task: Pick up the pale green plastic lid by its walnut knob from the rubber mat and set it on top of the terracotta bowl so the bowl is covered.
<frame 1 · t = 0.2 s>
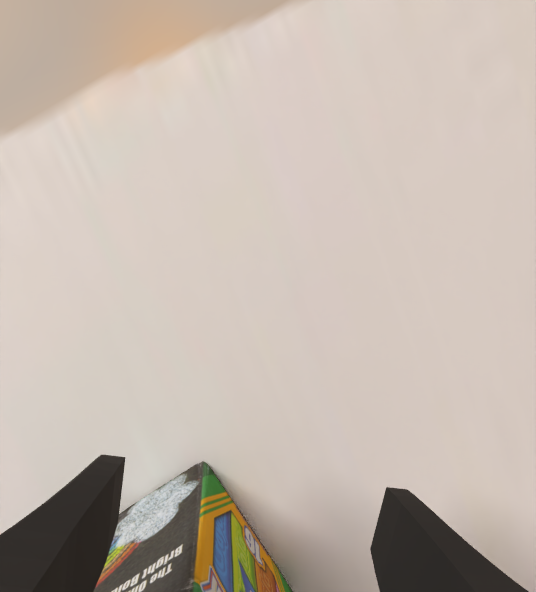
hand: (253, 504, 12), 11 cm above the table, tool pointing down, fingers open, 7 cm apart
chalk box: (179, 570, 23), on the table
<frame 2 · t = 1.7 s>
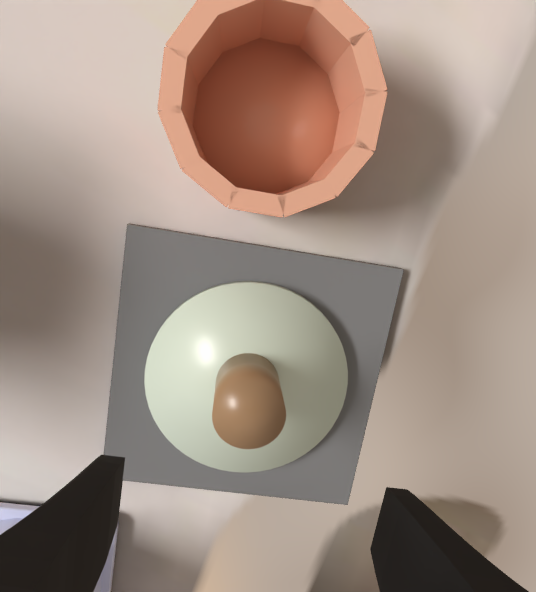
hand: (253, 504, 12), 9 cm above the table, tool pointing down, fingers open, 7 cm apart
bowl: (265, 122, 18), on the table
lid: (247, 377, 20), resting on mat
mat: (247, 373, 21), on the table
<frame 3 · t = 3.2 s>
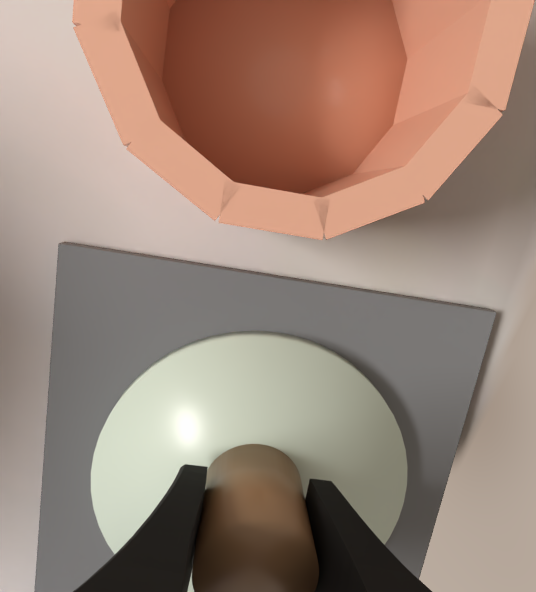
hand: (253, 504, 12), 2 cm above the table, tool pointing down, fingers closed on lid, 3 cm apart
bowl: (282, 77, 11), on the table
lid: (251, 474, 13), resting on mat, touching gripper
mat: (251, 467, 14), on the table
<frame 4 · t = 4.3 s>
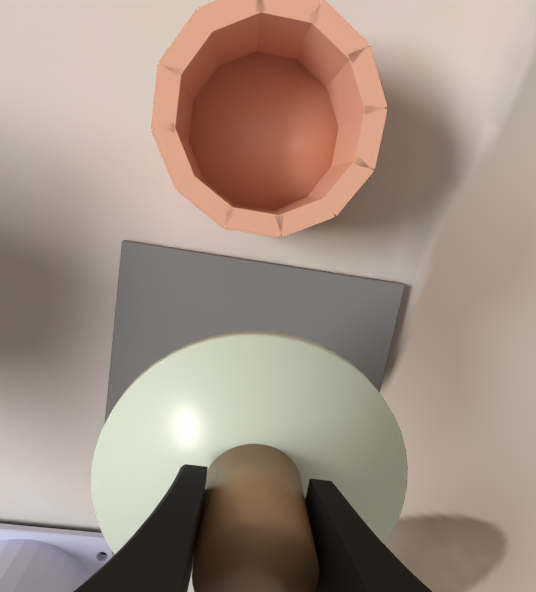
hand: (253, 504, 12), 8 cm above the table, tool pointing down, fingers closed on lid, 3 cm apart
bowl: (263, 136, 18), on the table
lid: (251, 474, 13), point 7 cm above the table, touching gripper
mat: (245, 391, 20), on the table
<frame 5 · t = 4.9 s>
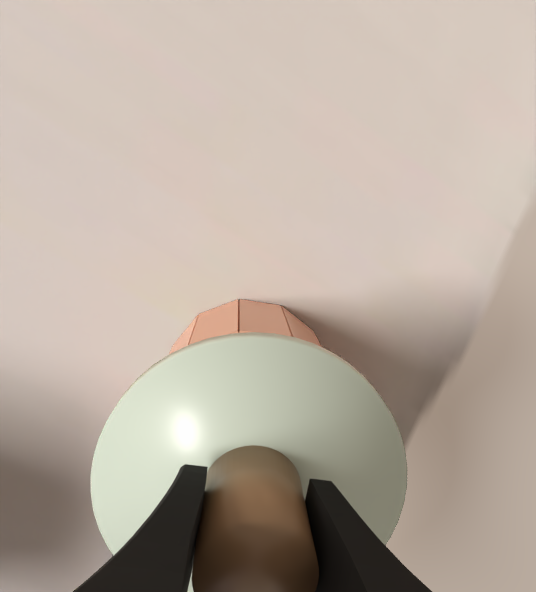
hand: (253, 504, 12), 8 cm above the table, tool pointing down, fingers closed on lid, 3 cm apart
bowl: (247, 376, 20), on the table
lid: (251, 476, 13), point 7 cm above the table, touching gripper
when the fingers open (7 cm above the table, at t = 5.5 s): lid drops 1 cm, resting on bowl.
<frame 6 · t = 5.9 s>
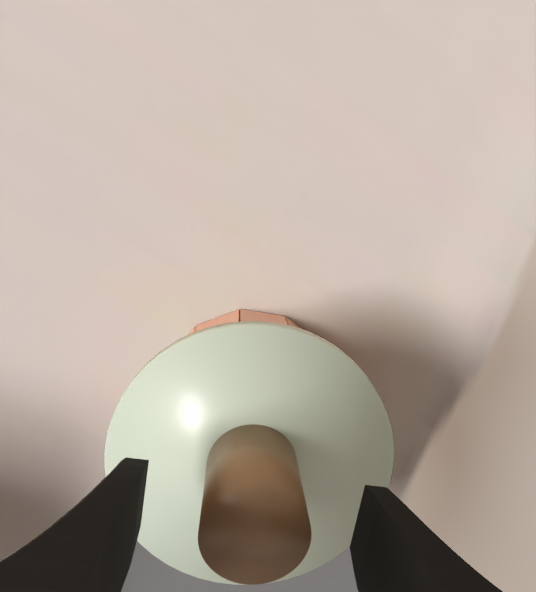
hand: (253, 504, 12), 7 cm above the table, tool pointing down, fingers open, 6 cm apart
bowl: (248, 391, 19), on the table, touching lid
lid: (251, 454, 15), point 4 cm above the table, touching bowl
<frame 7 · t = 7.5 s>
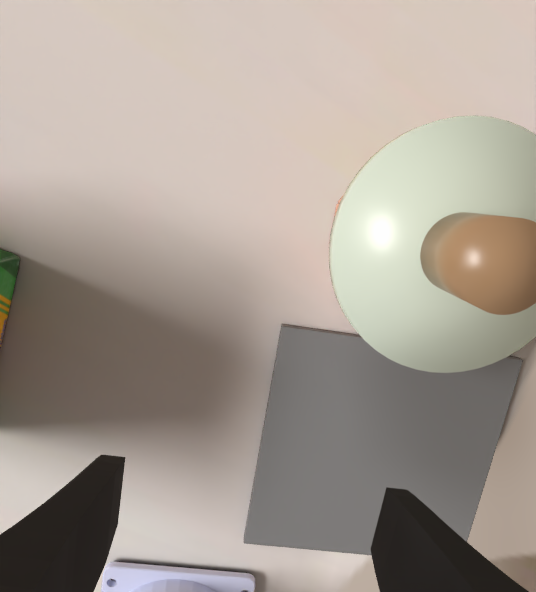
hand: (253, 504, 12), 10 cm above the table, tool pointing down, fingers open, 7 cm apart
lid: (451, 250, 16), point 4 cm above the table, touching bowl
mat: (376, 450, 23), on the table
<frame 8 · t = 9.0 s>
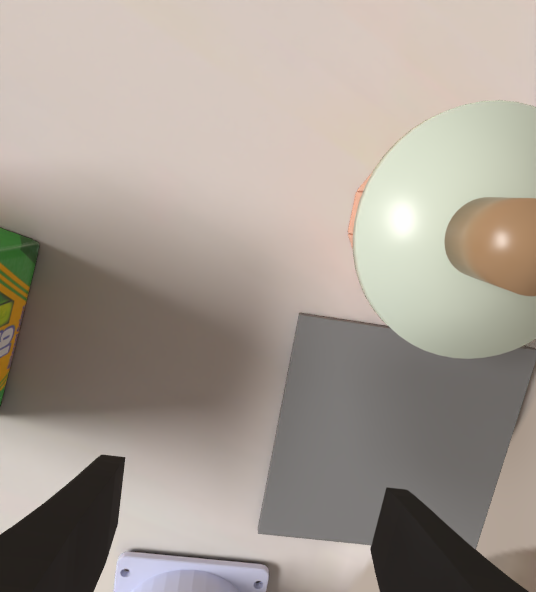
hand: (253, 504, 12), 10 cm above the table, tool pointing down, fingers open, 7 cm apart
bowl: (425, 225, 21), on the table, touching lid
lid: (474, 236, 16), point 4 cm above the table, touching bowl
mat: (391, 440, 23), on the table
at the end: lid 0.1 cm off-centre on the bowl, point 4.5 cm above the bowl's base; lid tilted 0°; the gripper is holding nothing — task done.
